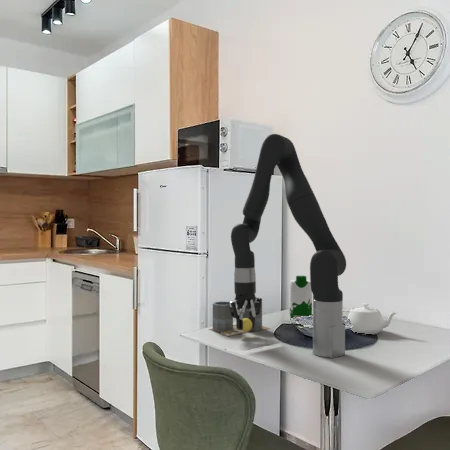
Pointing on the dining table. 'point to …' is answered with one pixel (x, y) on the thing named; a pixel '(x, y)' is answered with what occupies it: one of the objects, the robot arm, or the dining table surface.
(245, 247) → the robot arm
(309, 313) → the milk carton
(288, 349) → the dining table surface
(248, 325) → the mustard ball
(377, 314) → the teapot
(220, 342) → the dining table surface
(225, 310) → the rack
